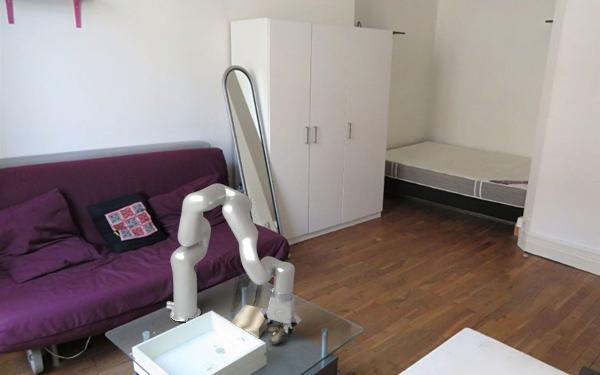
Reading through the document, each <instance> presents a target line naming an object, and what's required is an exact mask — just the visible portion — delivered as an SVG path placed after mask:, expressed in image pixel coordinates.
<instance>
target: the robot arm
mask: <svg viewBox="0 0 600 375" xmlns="http://www.w3.org/2000/svg"><path fill="white" fill-rule="evenodd" d="M220 205H221V206H222V208H221V209H222V215H223V217H224V219H225V220H226V222H227V224H228V226H229V228H230V229H231V231H232V233H233V234H234V236H235V238H236V241H237V242H238V248H239V249H238V251H239V256H240V262H241V264H242V266H243V269H244V271H245V273H246V274H247V276H248V278H249V279H250V280H251V281H252V282H253V283H254V284H255V285H258V286H263V285H265V284H266V285H267V283H268V282H269V281H270V280H271V279H272V277H273V287H270V289H269V291H270V292H272V293H271V295H270V298H269V300H268V306H267V307H264V308H263V309H262V310H261V313H262V314H263V315H264V318H265V319H266V320H267V321H266V322H267V326H269V325H271V324H274V322H278V323H279V322H280V323H283V324H285V325H288V326H289V328H288V333H287V335H286V336H287V338H290V336H291V335H292V334H293V332H294V327H296V326H297V325H299V323H300V322H301V321H302V318H301V317H300V316H299V315H298V314H297V313H296V312H295V311H296V310H295V305H296V304H295V298H294V297H295V296H293V292H294V280H295V272H296V271H295V270H296V269H295V265H294V264H293V263H291V262H289V261H282V260H280V259H277V258H276V257H273V256H269V255H268V256H264V257H263V258H262V259H260V257H259V256H258V251H257V250H258V249H257V247H258V246H257V245H258V244H257V243H258V240H259V239H258V238H259V230H258V229H257V227H256V225H255V224H254V221H253V220H252V218H251V216H250V215H249V214H250V212H251V211H252V209H253V203H252V200H251V198H250V197H249V196H247V195H246V194H245V193H242V192H241V191H239V190H236V189H234V188H232V187H230V186H227V185H225V184H222V183H213V184H211V185H209V186H207V187H204V188H203V189H200V190H197V191H195V192H191V193H188V195H187V194H186V196H185V197H184V199H183V201H182V206H181V213H180V215H181V216H180V220H179V224H178V229H177V230H178V231H177V241H178V242H179V245H180V246H178V248H177V249H175V250H174V251H173V252H172V253H171V256H170V265H171V271H172V284H173V301H170V300H167V302H166V307H165V308H166V309H168V310H171V311H170V314H169V317H170V319H171V318H172V319H173V320H175V321H185V320H186V321H187V320H188V318H194V317H197V316H199V315H200V314H201V312H202V310H201V309H200V308H199V307H198V299H197V298H198V281H197V280H198V277H197V273H196V271H195V266H196V265H197V264H198V263H199V262H200V261H202V260H203V259H204V258H205V256H206V255H207V252H208V249H209V245H210V243H209V242H210V237H211V230H212V227H211V224H210V222H209V220H208V219H207V218H205V217H204V212H208V211H211V210H213V209H215V208H216V207H218V206H220ZM266 312H267V313H266ZM200 316H201V315H200ZM172 319H171V320H172ZM293 319H295V320H293ZM173 320H172V321H173ZM175 321H174V322H175Z"/></svg>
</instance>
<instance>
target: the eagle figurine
mask: <svg viewBox="0 0 600 375" xmlns="http://www.w3.org/2000/svg"><path fill="white" fill-rule="evenodd" d="M283 324H284V323H282V322H278V324H277V323H272V324H271V325H269V326H267V327H266V328H265V330H264V332H265V333H272V337H270V338H269V339H268V344H269V345H270V344H271V345H276V344H279V343H280V342H281V341H282V340H283V339H284V338H285V333H287V334H288V328H289V325H288V324H285V325H284V326H283Z"/></svg>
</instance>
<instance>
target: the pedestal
mask: <svg viewBox="0 0 600 375" xmlns="http://www.w3.org/2000/svg"><path fill="white" fill-rule="evenodd" d="M262 309H264V308H262V307H259V306H254V305H249V304H244V305H242V308H241V309H240V310H239V311H238V312H237V314H236V315H235V316H234V318H232V319H231V322H230V324H231V323H233V324H235V325H237V326H238V327H240V328H242V329H243V330H245V331H247V332H249V333H251V334H252V335H254V336H256V337H257V338H259V339H260V337H261V336H262V334H264V332H265V328H266V327H267V322H266V321H267V320H266V319H265V318H264V315H263V314H262V313H261V310H262ZM266 313H267V312H266Z"/></svg>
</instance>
